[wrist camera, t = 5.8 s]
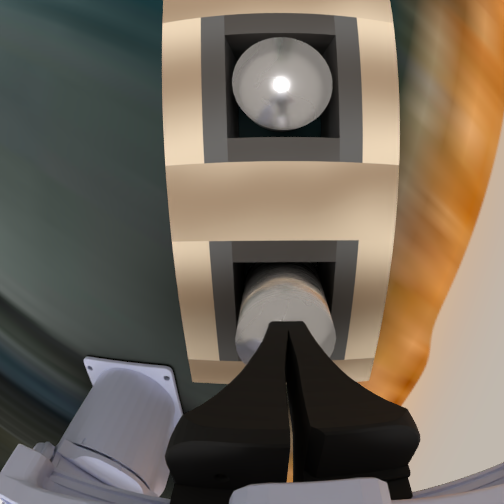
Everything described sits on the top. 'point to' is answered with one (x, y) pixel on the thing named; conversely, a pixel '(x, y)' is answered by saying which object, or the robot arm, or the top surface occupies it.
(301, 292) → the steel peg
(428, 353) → the top surface
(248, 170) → the maple peg block
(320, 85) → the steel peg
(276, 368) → the robot arm
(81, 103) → the top surface
